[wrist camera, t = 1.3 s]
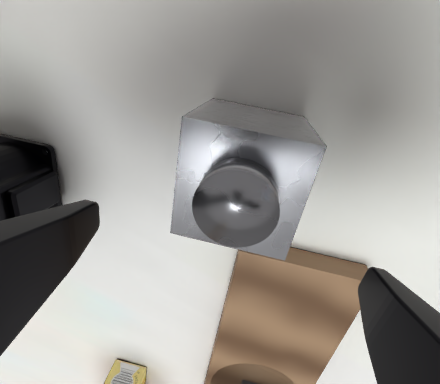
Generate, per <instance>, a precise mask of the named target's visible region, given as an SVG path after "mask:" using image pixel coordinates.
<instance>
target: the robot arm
mask: <svg viewBox="0 0 440 384" xmlns="http://www.w3.org/2000/svg"><path fill="white" fill-rule="evenodd" d="M46 150H47V151H48V153H47V152H46ZM99 224H100V219H99V205H98V203H96V202H93V201H89V200H82V201H78V202H74V203H70V204H66V205H62V206H61V199H60V191H59V183H58V174H57V166H56V158H55V151H54V149H53V147H52V146H50V145H48V144H44V143H39V142H35V141H30V140H26V139H21V138H17V137H12V136H8V135H4V134H0V356H1V355H2V353H3V352H4V351H5V350H6V349H7V347H8V346H9V345H10V344H11V342H12V341H13V340H14V339H15V338H16V336H17V335H18V334H19V333H20V331H21V330H22V329H23V328H24V327H25V325H26V324H27V323H28V322H29V320H30V319H31V318H32V317H33V316H34V314H35V313H36V312H37V311H38V309H39V308H40V307H41V306H42V305H43V303H44V302H45V301H46V300H47V298H48V297H49V296H50V295H51V293H52V292H53V291H54V290H55V289H56V287H57V286H58V285H59V284H60V282H61V281H62V280H63V279H64V278H65V276H66V275H67V274H68V273H69V271H70V270H71V269H72V268H73V266H74V265H75V263H76V262H77V261H78V259H79V258H80V256H81V255H82V253H83V252H84V250H85V248H86V247H87V245H88V244H89V242H90V241H91V239H92V238H93V236H94V235H95V233H96V232H97V230H98V228H99ZM358 297H359V304H360V310H361V316H362V322H363V328H364V334H365V339H366V343H367V347H368V351H369V355H370V358H371V362H372V366H373V369H374V373H375V377H376V380H377V384H440V313H439V312H438V311H436V310H435V309H434V308H433V307H431V306H430V305H429V304H428V303H426V302H425V301H424V300H423V299H421V298H420V297H419V296H417V295H416V294H415V293H414V292H412V291H411V290H410V289H409V288H407V287H406V286H405V285H404V284H402V283H401V282H400V281H399V280H397V279H396V278H395V277H393V276H392V275H391V274H390V273H388V272H387V271H386V270H384V269H380V268H375V267H370V268H369V269H368V270H367V271H366V273H365V275H364V277H363V278H362V280H361V282H360V284H359V286H358Z"/></svg>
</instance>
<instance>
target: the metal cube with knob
mask: <svg viewBox="0 0 440 384" xmlns="http://www.w3.org/2000/svg"><path fill="white" fill-rule="evenodd" d="M326 147H327V146H326V145H325V144H324V142H323V141H322V140H321V138H320V137H319V136H318V134H317V133H316V132H315V130H314V129H313V128H312V126H311V125H310V123H309V122H308V121H307V119H306V118H305V117H303V116H298V115H293V114H288V113H283V112H278V111H273V110H268V109H263V108H259V107H254V106H249V105H244V104H239V103H234V102H229V101H224V100H219V99H214V98H213V99H211V100H209V101H208V102H206V103H204V104H203V105H201V106H199V107H197V108H196V109H194V110H192V111H191V112H189V113H187V114H186V115H184V116H182V123H181V133H180V143H179V153H178V162H177V172H176V182H175V192H174V202H173V212H172V221H171V231H170V233H173V234H177V235H181V236H185V237H189V238H193V239H197V240H202V241H206V242H210V243H214V244H218V245H222V246H226V247H230V248H235V249H239V250H243V251H247V252H251V253H255V254H259V255H264V256H268V257H272V258H276V259H280V260H284V261H285V259H286V256H287V254H288V251H289V248H290V245H291V243H292V240H293V237H294V234H295V232H296V229H297V226H298V223H299V221H300V218H301V215H302V212H303V210H304V207H305V204H306V202H307V199H308V196H309V193H310V191H311V188H312V185H313V182H314V180H315V177H316V174H317V171H318V169H319V166H320V163H321V161H322V158H323V155H324V152H325V150H326Z"/></svg>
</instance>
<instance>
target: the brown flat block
mask: <svg viewBox="0 0 440 384" xmlns="http://www.w3.org/2000/svg"><path fill="white" fill-rule="evenodd" d="M367 270H368V268H367V266H366V265H364V264H359V263H355V262H351V261H347V260H342V259H338V258H334V257H330V256H326V255H321V254H317V253H313V252H309V251H305V250H300V249H296V248H292V247H290V248H289V251H288V254H287V256H286V259H285V261H284V260H280V259H276V258H272V257H268V256H264V255H259V254H255V253H251V252H247V251H243V250H239V249H238V252H237V256H236V260H235V264H234V268H233V272H232V276H231V280H230V284H229V288H228V292H227V296H226V299H225V303H224V307H223V311H222V315H221V319H220V323H219V327H218V331H217V335H216V339H215V343H214V347H213V351H212V354H211V358H210V362H209V366H208V370H207V374H206V378H205V382H204V384H316V382H317V380H318V379H319V377H320V375H321V374H322V372H323V370H324V369H325V367H326V365H327V364H328V362H329V360H330V359H331V357H332V355H333V354H334V352H335V350H336V349H337V347H338V345H339V344H340V342H341V340H342V339H343V337H344V335H345V334H346V332H347V330H348V329H349V327H350V325H351V324H352V322H353V320H354V319H355V317H356V315H357V314H358V312H359V310H360V304H359V297H358V286H359V284H360V282H361V280H362V278H363V277H364V275H365V273H366V271H367Z"/></svg>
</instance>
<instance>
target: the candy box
mask: <svg viewBox="0 0 440 384" xmlns="http://www.w3.org/2000/svg"><path fill="white" fill-rule="evenodd" d="M145 380H146V367H143V366H140V365H136V364H132V363H128V362H124V361H121V360H118V359H117V360H116V361H115V362H114V364H113V366H112V368H111V370H110V372H109V374H108V376H107V378H106V380H105V382H104V384H145Z"/></svg>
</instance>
